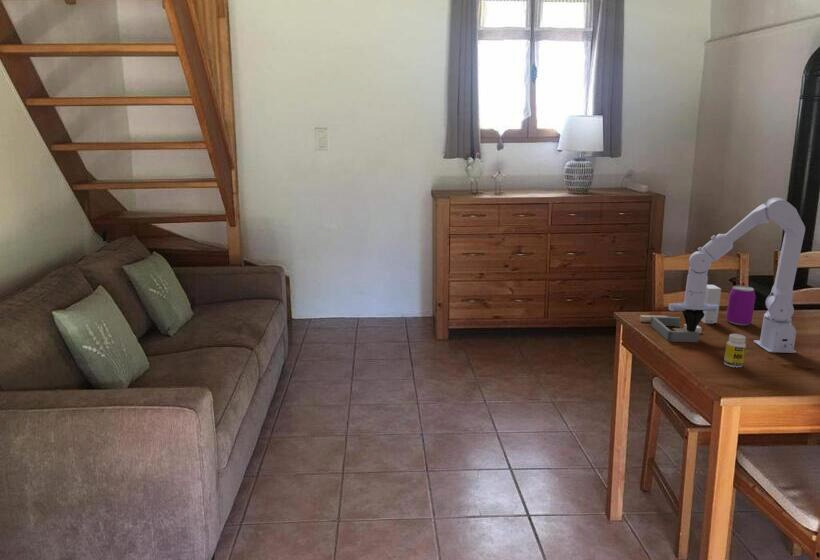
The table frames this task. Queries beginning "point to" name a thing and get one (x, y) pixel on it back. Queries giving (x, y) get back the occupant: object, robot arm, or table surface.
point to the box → (673, 336)
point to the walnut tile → (679, 329)
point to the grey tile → (698, 329)
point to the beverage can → (741, 305)
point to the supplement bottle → (735, 350)
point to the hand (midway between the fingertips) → (690, 333)
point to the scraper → (648, 317)
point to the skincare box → (711, 298)
